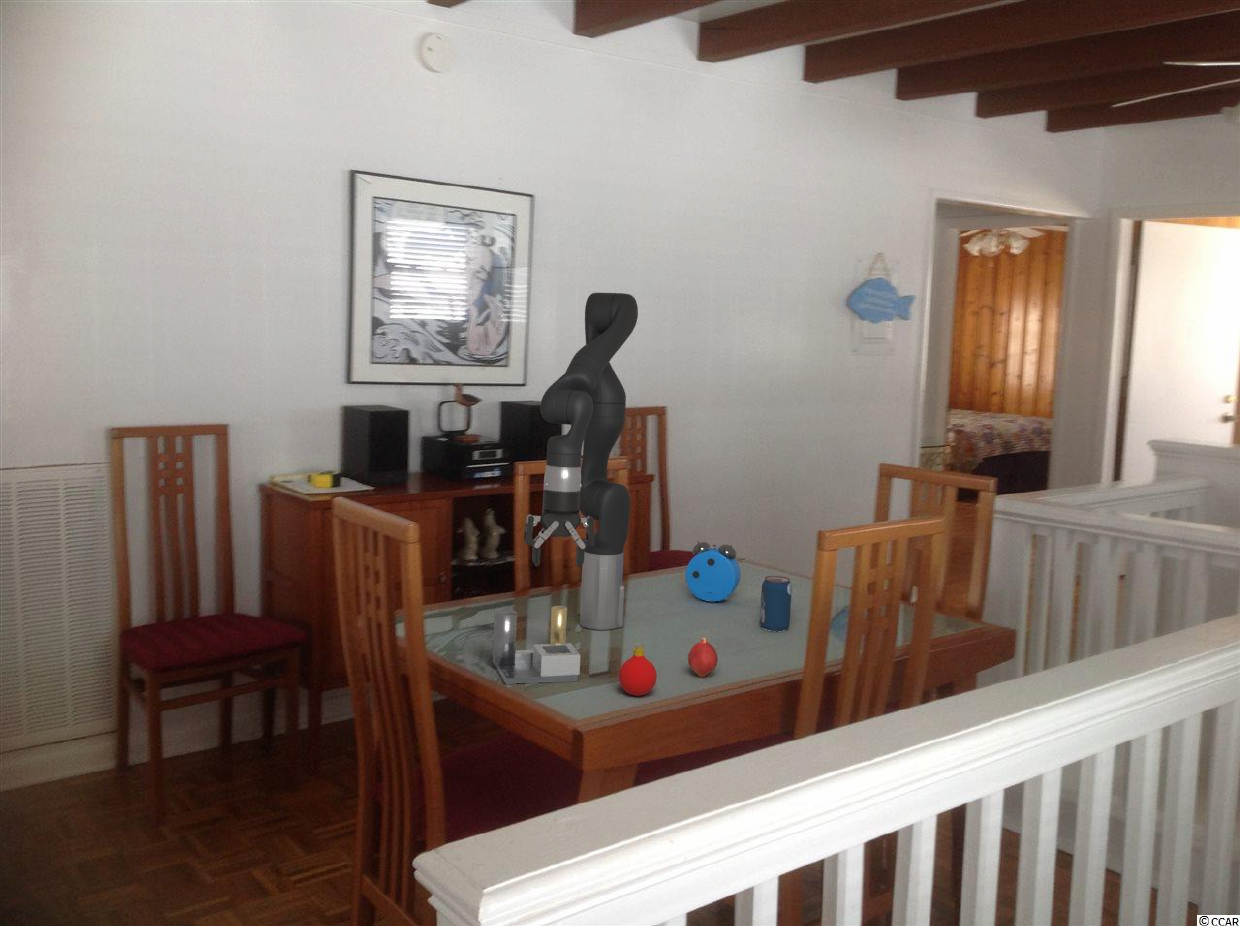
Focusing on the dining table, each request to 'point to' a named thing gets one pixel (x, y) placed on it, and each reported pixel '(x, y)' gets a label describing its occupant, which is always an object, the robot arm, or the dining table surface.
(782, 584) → the soda can
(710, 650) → the onion
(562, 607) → the gold cylinder
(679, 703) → the dining table surface
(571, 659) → the grey desk organizer
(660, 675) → the dining table surface
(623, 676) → the christmas ornament
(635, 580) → the dining table surface
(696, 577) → the alarm clock
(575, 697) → the dining table surface
